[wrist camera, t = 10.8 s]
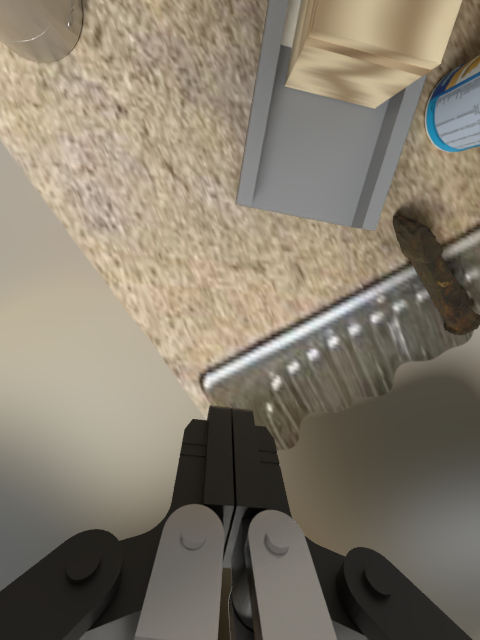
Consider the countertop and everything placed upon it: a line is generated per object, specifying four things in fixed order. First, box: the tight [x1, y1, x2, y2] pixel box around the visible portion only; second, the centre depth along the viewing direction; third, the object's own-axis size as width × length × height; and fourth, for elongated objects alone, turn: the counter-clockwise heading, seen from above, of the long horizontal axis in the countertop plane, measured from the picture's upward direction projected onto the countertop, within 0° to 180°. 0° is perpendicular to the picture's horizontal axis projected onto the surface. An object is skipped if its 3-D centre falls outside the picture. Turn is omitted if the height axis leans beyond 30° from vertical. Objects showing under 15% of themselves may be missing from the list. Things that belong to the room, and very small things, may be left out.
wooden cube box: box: [285, 0, 462, 109], centre depth 24 cm, size 10×8×10 cm
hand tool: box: [393, 216, 480, 335], centre depth 37 cm, size 19×4×5 cm, turn 38°
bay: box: [236, 0, 427, 231], centre depth 29 cm, size 16×22×6 cm
